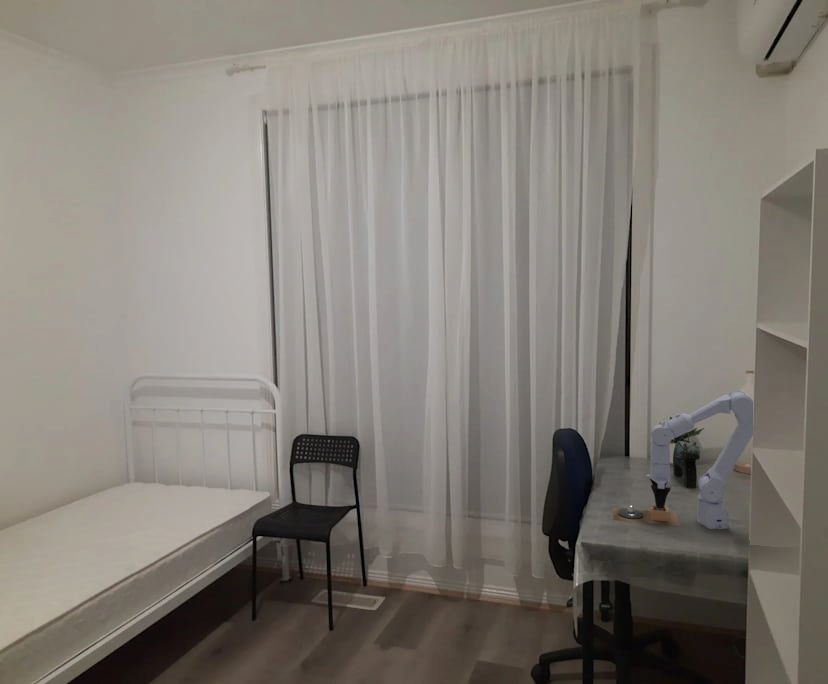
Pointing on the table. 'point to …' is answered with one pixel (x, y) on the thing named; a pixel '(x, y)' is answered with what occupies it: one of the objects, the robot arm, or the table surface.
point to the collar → (659, 513)
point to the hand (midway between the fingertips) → (659, 503)
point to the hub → (631, 513)
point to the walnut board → (647, 518)
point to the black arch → (686, 461)
